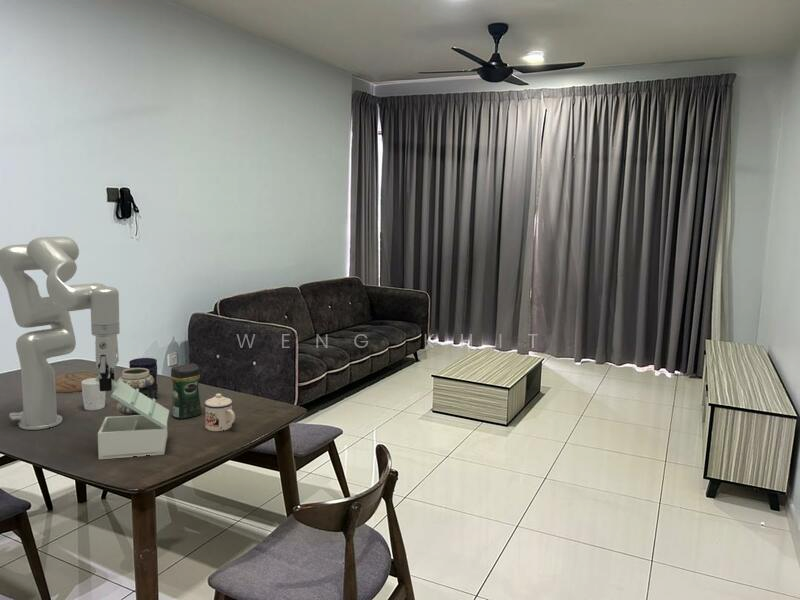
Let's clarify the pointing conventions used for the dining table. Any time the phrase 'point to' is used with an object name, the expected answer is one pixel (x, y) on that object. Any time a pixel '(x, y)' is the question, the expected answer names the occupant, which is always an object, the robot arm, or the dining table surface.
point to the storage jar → (152, 367)
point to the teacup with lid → (218, 413)
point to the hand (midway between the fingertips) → (107, 387)
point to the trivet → (72, 381)
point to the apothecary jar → (136, 385)
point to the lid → (139, 402)
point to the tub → (130, 437)
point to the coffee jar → (185, 391)
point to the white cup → (92, 394)
